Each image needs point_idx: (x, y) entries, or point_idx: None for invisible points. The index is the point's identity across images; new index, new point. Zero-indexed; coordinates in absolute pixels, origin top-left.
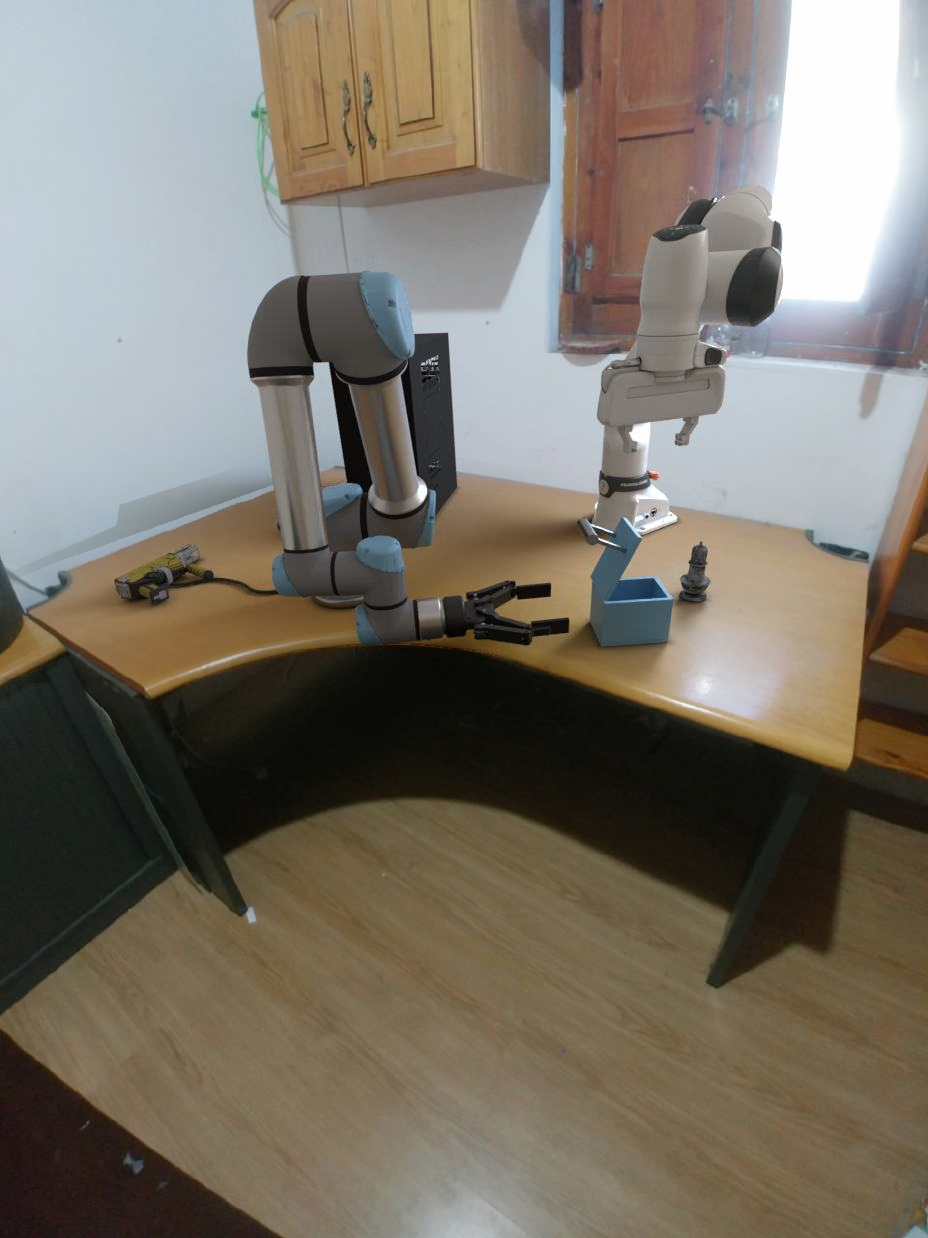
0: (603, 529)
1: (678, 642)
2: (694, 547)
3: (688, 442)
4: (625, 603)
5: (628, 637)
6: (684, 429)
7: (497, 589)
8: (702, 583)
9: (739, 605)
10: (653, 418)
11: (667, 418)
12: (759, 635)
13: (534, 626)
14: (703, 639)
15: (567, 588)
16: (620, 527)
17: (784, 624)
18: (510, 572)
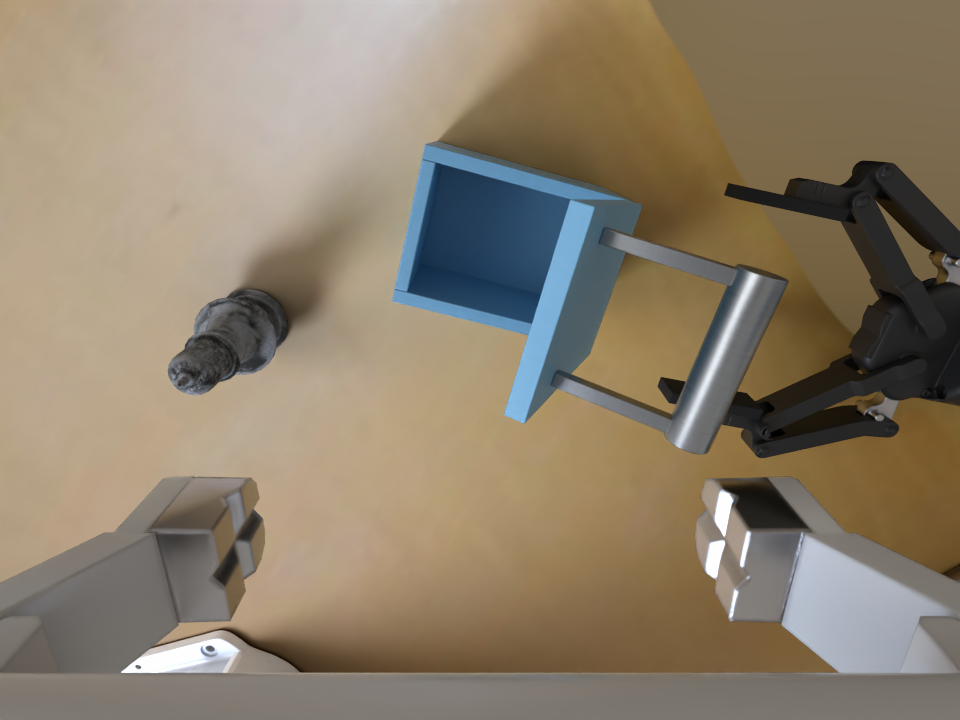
0: (606, 397)
1: (410, 130)
2: (207, 382)
3: (163, 483)
4: (570, 183)
5: (539, 170)
6: (129, 622)
7: (800, 430)
8: (229, 307)
9: (160, 235)
10: (735, 705)
11: (444, 681)
12: (189, 76)
13: (838, 204)
14: (341, 118)
15: (528, 465)
16: (546, 379)
17: (93, 100)
18: (612, 576)
